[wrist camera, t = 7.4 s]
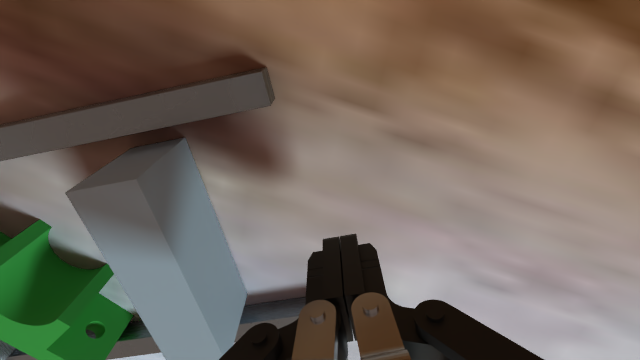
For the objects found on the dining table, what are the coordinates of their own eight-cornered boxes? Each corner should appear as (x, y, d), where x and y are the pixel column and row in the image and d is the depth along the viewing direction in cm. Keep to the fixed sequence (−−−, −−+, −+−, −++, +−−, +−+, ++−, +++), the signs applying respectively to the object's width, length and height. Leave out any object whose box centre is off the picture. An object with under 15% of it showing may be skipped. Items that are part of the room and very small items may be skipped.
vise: (-172, 162, 18) (-334, 209, 14) (266, 67, 16) (244, 86, 11) (5, 356, 25) (-66, 431, 20) (330, 310, 23) (332, 383, 18)
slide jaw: (131, 148, 18) (65, 192, 13) (185, 137, 17) (136, 179, 13) (204, 301, 22) (173, 372, 18) (247, 294, 22) (227, 365, 17)
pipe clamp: (157, 293, 22) (120, 355, 18) (126, 320, 24) (85, 384, 19) (-9, 184, 19) (-102, 231, 15) (-37, 222, 20) (-129, 276, 16)
